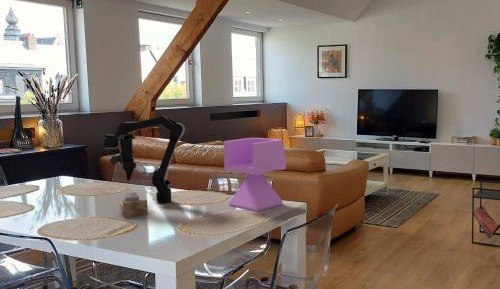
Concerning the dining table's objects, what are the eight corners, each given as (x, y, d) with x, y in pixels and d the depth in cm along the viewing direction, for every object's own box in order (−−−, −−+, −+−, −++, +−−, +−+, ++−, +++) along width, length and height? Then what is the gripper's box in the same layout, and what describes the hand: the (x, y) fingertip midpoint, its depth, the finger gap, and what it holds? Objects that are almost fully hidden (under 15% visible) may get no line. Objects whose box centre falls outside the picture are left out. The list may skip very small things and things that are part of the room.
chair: (225, 206, 228) (223, 141, 225) (254, 198, 243) (253, 137, 239) (257, 212, 215) (256, 143, 211) (286, 204, 229) (285, 139, 226)
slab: (136, 196, 237) (135, 192, 237) (139, 201, 226) (138, 197, 226) (123, 197, 235) (122, 193, 235) (125, 202, 224) (125, 198, 224)
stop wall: (147, 213, 217) (146, 199, 217) (147, 214, 216) (147, 200, 215) (123, 215, 214) (122, 202, 214) (124, 216, 212) (123, 203, 212)
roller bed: (141, 203, 237) (140, 196, 237) (147, 213, 217) (146, 205, 217) (119, 205, 234) (119, 198, 234) (123, 216, 214) (123, 208, 213)
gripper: (108, 147, 244) (109, 178, 246) (110, 151, 226) (112, 185, 228) (131, 146, 248) (132, 177, 249) (135, 150, 230) (137, 183, 232)
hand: (128, 180), depth 240 cm, fingers closed
